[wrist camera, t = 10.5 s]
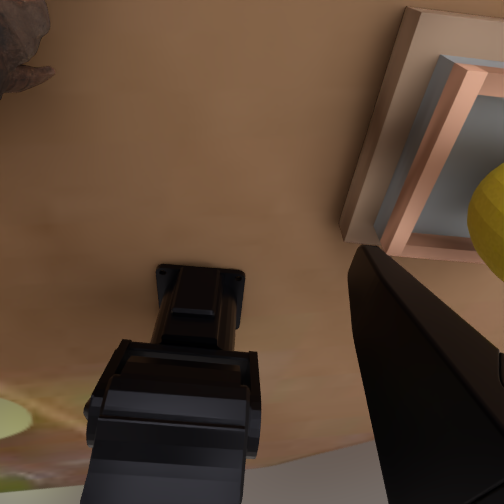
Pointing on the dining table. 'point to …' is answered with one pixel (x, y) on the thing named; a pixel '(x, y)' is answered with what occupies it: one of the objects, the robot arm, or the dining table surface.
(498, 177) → the lemon
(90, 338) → the dining table surface
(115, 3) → the dining table surface
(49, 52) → the dining table surface
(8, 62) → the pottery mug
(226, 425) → the robot arm
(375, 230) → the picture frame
